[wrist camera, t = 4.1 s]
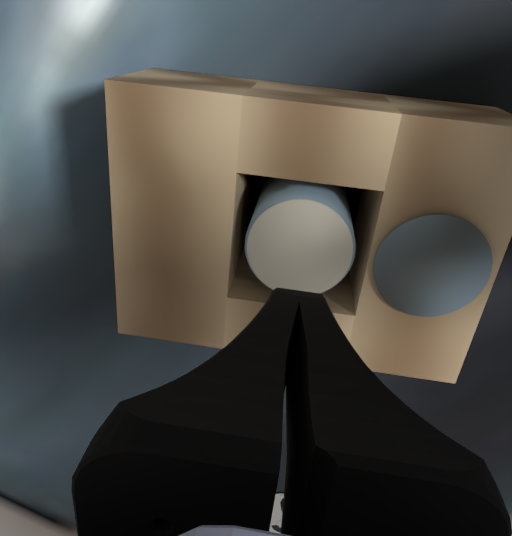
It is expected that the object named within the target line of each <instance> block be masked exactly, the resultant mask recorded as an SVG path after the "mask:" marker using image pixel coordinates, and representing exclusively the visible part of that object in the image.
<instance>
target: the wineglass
mask: <svg viewBox="0 0 512 536" xmlns="http://www.w3.org/2000/svg"><path fill="white" fill-rule="evenodd" d="M283 502H284V493H276V495H275V500H274V506H273V512H272V518H271V523H270V529H269V532H274V533H280V534H281V523H282V512H283Z"/></svg>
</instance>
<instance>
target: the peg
mask: <svg viewBox="0 0 512 536" xmlns="http://www.w3.org/2000/svg"><path fill="white" fill-rule="evenodd" d="M355 251H356V242H355V236H354V230H353V225H352V219H351V213H350V208H349V202H348V197H347V192H346V188H345V186H337V185H329V184H321V183H313V182H305V181H298V180H290V179H282V178H274V177H268V178H267V180H266V181H265V183H264V185H263V187H262V190H261V193H260V196H259V199H258V201H257V204H256V207H255V210H254V213H253V216H252V219H251V221H250V224H249V227H248V230H247V233H246V238H245V254H246V258H247V261H248V264H249V266H250V268H251V270H252V271H253V273H254V274H255V276H256V277H257V278H258V279H259V280H260V281H261V282H262V283H263V284H265V285H266V286H267V287H269V288H271V289H272V290H274V289H275V288H277V287H278V288H285V289H292V290H299V291H306V292H313V293H323V292H325V291H327V290H329V289H331V288H333V287H334V286H335V285H337V284H338V283H339V282H340V281H341V280H342V279H343V278H344V277H345V276H346V275H347V273H348V271H349V270H350V268H351V266H352V264H353V261H354V257H355Z"/></svg>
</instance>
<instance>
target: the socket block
mask: <svg viewBox="0 0 512 536" xmlns="http://www.w3.org/2000/svg"><path fill="white" fill-rule="evenodd" d="M104 85H105V103H106V121H107V140H108V158H109V176H110V194H111V212H112V231H113V249H114V267H115V285H116V304H117V322H118V333H121V334H128V335H135V336H141V337H148V338H155V339H161V340H168V341H175V342H181V343H188V344H195V345H201V346H208V347H215V348H221V349H223V348H224V347H225V346H227V345H228V344H229V343H230V342H231V341H232V340H233V339H234V338H235V337H236V336H237V335H238V334H239V333H240V332H241V331H242V330H243V329H244V328H245V327H246V326H247V325H248V324H249V323H250V322H251V321H252V319H253V318H254V317H255V316H256V315H257V313H258V312H259V311H260V310H261V308H262V307H263V306H264V304H265V303H266V301H267V300H268V298H269V296H270V295H271V293H272V289H271V288H269V287H267V286H266V285H265V284H263V283H262V282H261V281H260V280H259V279H258V278H257V277H256V276H255V274H254V273H253V271H252V270H251V268H250V266H249V264H248V261H247V258H246V254H245V237H246V226H247V215H248V204H249V193H250V183H251V175H258V176H266V177H274V178H282V179H290V180H298V181H305V182H313V183H321V184H329V185H337V186H345V187H353V188H361V189H362V193H361V198H360V203H359V208H358V212H357V217H356V222H355V227H354V236H355V242H356V251H355V257H354V261H353V264H352V266H351V268H350V270H349V271H348V273H347V275H346V276H345V277H344V278H343V279H342V280H341V281H340V282H339V283H338V284H337V285H335V286H334V287H333V288H331V289H329V290H327V291H325V292H323V293H320V294H323V296H324V297H325V299H326V301H327V303H328V305H329V307H330V309H331V311H332V313H333V315H334V317H335V319H336V321H337V323H338V324H339V326H340V328H341V329H342V331H343V333H344V334H345V336H346V337H347V339H348V341H349V342H350V344H351V345H352V346H353V348H354V349H355V351H356V352H357V353H358V355H359V356H360V358H361V359H362V360H363V362H364V363H365V364H366V365H367V367H368V368H369V369H370V370H371V371H374V372H381V373H388V374H394V375H401V376H408V377H414V378H421V379H428V380H434V381H441V382H448V383H454V384H455V382H456V380H457V377H458V375H459V372H460V369H461V367H462V364H463V362H464V359H465V356H466V354H467V351H468V348H469V346H470V343H471V341H472V338H473V335H474V333H475V330H476V328H477V325H478V322H479V320H480V317H481V315H482V312H483V309H484V307H485V304H486V302H487V299H488V296H489V294H490V291H491V289H492V286H493V283H494V281H495V278H496V275H497V273H498V270H499V268H500V265H501V262H502V260H503V257H504V255H505V252H506V249H507V247H508V244H509V242H510V239H511V236H512V114H511V113H508V112H506V111H504V110H501V109H499V108H497V107H491V106H482V105H474V104H465V103H456V102H447V101H438V100H430V99H421V98H412V97H403V96H394V95H386V94H377V93H368V92H359V91H350V90H342V89H333V88H324V87H315V86H307V85H298V84H289V83H280V82H271V81H263V80H254V79H245V78H236V77H227V76H219V75H210V74H201V73H192V72H183V71H175V70H166V69H157V68H151V69H147V70H142V71H138V72H134V73H130V74H125V75H121V76H117V77H112V78H108V79H104Z"/></svg>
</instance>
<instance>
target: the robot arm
mask: <svg viewBox="0 0 512 536" xmlns="http://www.w3.org/2000/svg"><path fill="white" fill-rule="evenodd" d="M285 386H286V423H287V464H286V479H285V490H284V502H283V512H282V523H281V534H280V533H274V532H269V529H270V523H271V518H272V512H273V506H274V500H275V495H276V489H277V483H278V477H279V470H280V460H281V449H282V420H283V398H284V391H285ZM72 497H73V504H74V512H75V519H76V526H77V533H78V536H511V534H512V530H511V521H510V517H509V514H508V511H507V509H506V506H505V504H504V501H503V499H502V496H501V494H500V492H499V489H498V487H497V485H496V483H495V481H494V479H493V477H492V475H491V473H490V471H489V469H488V467H487V465H486V463H485V461H484V459H482V458H480V457H479V456H477V455H476V454H474V453H473V452H471V451H469V450H468V449H466V448H465V447H463V446H462V445H460V444H458V443H457V442H455V441H454V440H452V439H451V438H449V437H447V436H446V435H444V434H443V433H441V432H440V431H439V430H437V429H436V428H435V427H433V426H432V425H431V424H429V423H428V422H427V421H425V420H424V419H423V418H421V417H420V416H419V415H418V414H416V413H415V412H414V411H413V410H411V409H410V408H409V407H408V406H407V405H406V404H404V403H403V402H402V401H401V400H400V399H399V398H398V397H397V396H396V395H394V394H393V393H392V392H391V391H390V390H389V389H388V388H387V387H386V386H385V385H384V384H383V383H382V382H381V381H380V380H379V379H378V378H377V376H376V375H375V374H374V373H373V372H372V371H371V370H370V369H369V368H368V367H367V365H366V364H365V363H364V362H363V360H362V359H361V358H360V356H359V355H358V353H357V352H356V351H355V349H354V348H353V346H352V345H351V344H350V342H349V341H348V339H347V337H346V336H345V334H344V333H343V331H342V329H341V328H340V326H339V324H338V323H337V321H336V319H335V317H334V315H333V313H332V311H331V309H330V307H329V305H328V303H327V301H326V299H325V297H324V296H323V294H320V293H313V292H306V291H299V290H292V289H285V288H278V287H277V288H275V289H274V290H272V293H271V295H270V296H269V298H268V300H267V301H266V303H265V304H264V306H263V307H262V308H261V310H260V311H259V312H258V313H257V315H256V316H255V317H254V318H253V319H252V321H251V322H250V323H249V324H248V325H247V326H246V327H245V328H244V329H243V330H242V331H241V332H240V333H239V334H238V335H237V336H236V337H235V338H234V339H233V340H232V341H231V342H230V343H229V344H228V345H227V346H225V347H224V348H223V349H222V350H220V351H219V352H218V353H217V354H215V355H214V356H213V357H211V358H210V359H209V360H207V361H206V362H204V363H203V364H201V365H200V366H198V367H197V368H195V369H194V370H192V371H190V372H189V373H187V374H185V375H183V376H181V377H180V378H178V379H176V380H174V381H172V382H169V383H167V384H165V385H163V386H161V387H158V388H156V389H154V390H151V391H148V392H146V393H143V394H140V395H138V396H135V397H132V398H130V399H127V400H124V401H121V402H119V403H118V405H117V406H116V407H115V408H114V410H113V411H112V412H111V414H110V415H109V416H108V417H107V419H106V420H105V422H104V423H103V424H102V426H101V427H100V428H99V430H98V431H97V432H96V434H95V436H94V437H93V439H92V440H91V442H90V444H89V446H88V448H87V450H86V452H85V453H84V455H83V457H82V459H81V461H80V463H79V465H78V467H77V469H76V471H75V473H74V475H73V477H72Z"/></svg>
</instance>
